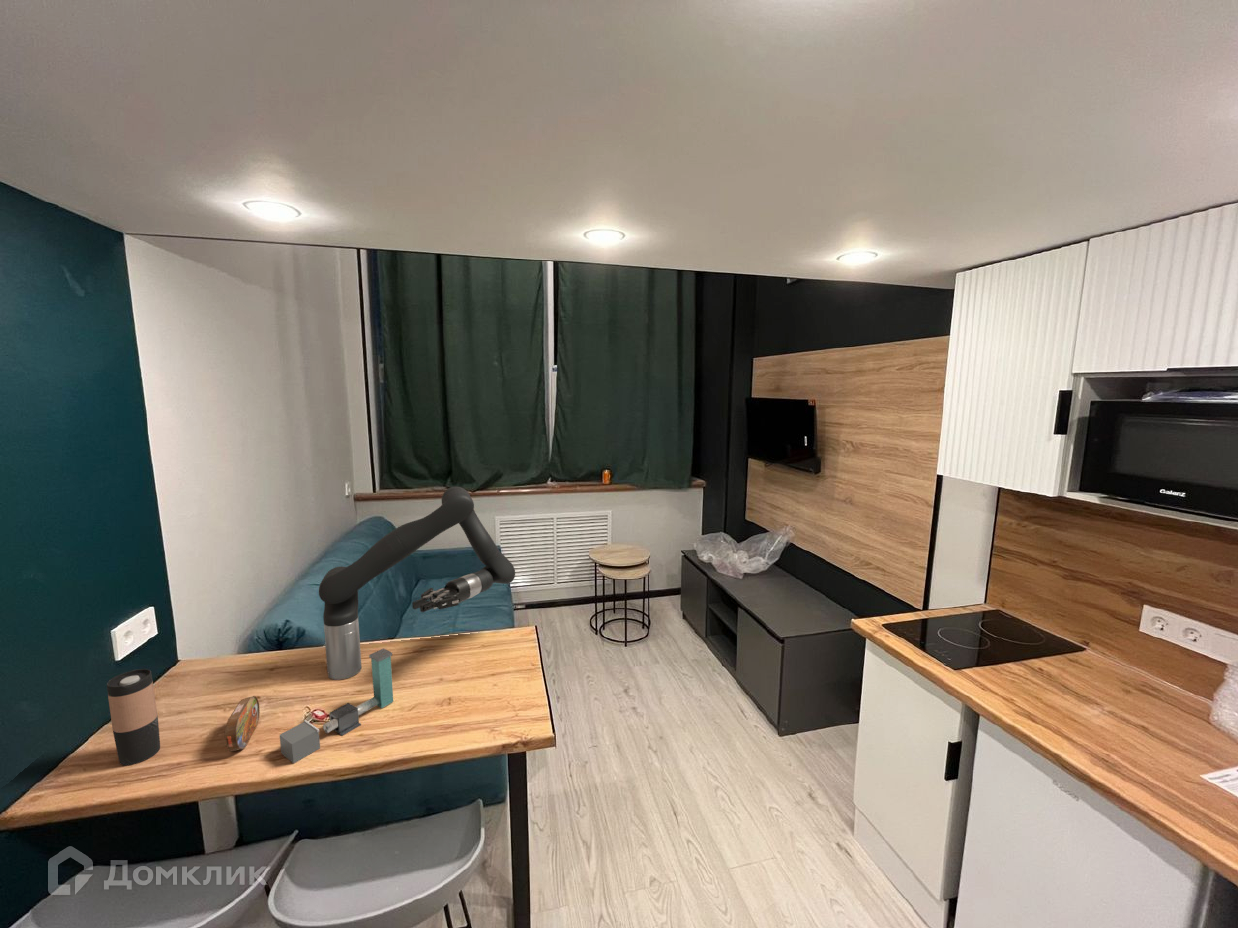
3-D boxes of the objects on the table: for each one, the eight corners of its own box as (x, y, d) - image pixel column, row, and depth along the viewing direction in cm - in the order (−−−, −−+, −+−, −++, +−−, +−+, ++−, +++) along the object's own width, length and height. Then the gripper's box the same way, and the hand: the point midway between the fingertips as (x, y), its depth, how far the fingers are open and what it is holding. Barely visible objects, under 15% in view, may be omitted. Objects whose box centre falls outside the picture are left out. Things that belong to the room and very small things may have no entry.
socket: (280, 753, 119) (278, 733, 118) (307, 738, 124) (305, 719, 123) (294, 763, 115) (292, 743, 114) (320, 748, 120) (319, 729, 119)
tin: (240, 756, 117) (236, 724, 116) (224, 759, 116) (220, 727, 115) (262, 717, 131) (259, 688, 130) (248, 720, 130) (244, 691, 129)
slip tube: (321, 732, 125) (317, 678, 123) (386, 696, 140) (383, 648, 138) (330, 738, 123) (326, 684, 121) (395, 701, 138) (392, 652, 136)
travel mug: (137, 744, 121) (126, 669, 118) (170, 742, 122) (160, 667, 119) (108, 767, 114) (95, 687, 111) (143, 765, 114) (132, 686, 111)
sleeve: (328, 726, 128) (327, 711, 127) (347, 716, 132) (346, 701, 132) (342, 735, 125) (340, 720, 124) (361, 724, 129) (360, 709, 128)
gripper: (448, 572, 162) (401, 590, 148) (478, 581, 155) (431, 600, 140) (449, 594, 163) (403, 613, 149) (479, 604, 156) (433, 625, 141)
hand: (417, 607), depth 144 cm, fingers open, 3 cm apart
